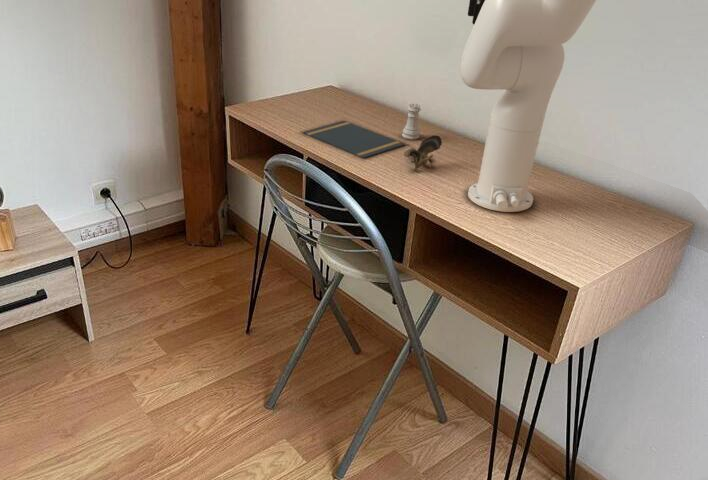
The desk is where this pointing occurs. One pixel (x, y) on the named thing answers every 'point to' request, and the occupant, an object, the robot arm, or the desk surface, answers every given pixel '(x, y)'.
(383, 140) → the placemat
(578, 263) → the desk surface
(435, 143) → the brown toy squirrel
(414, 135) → the rook chess piece
